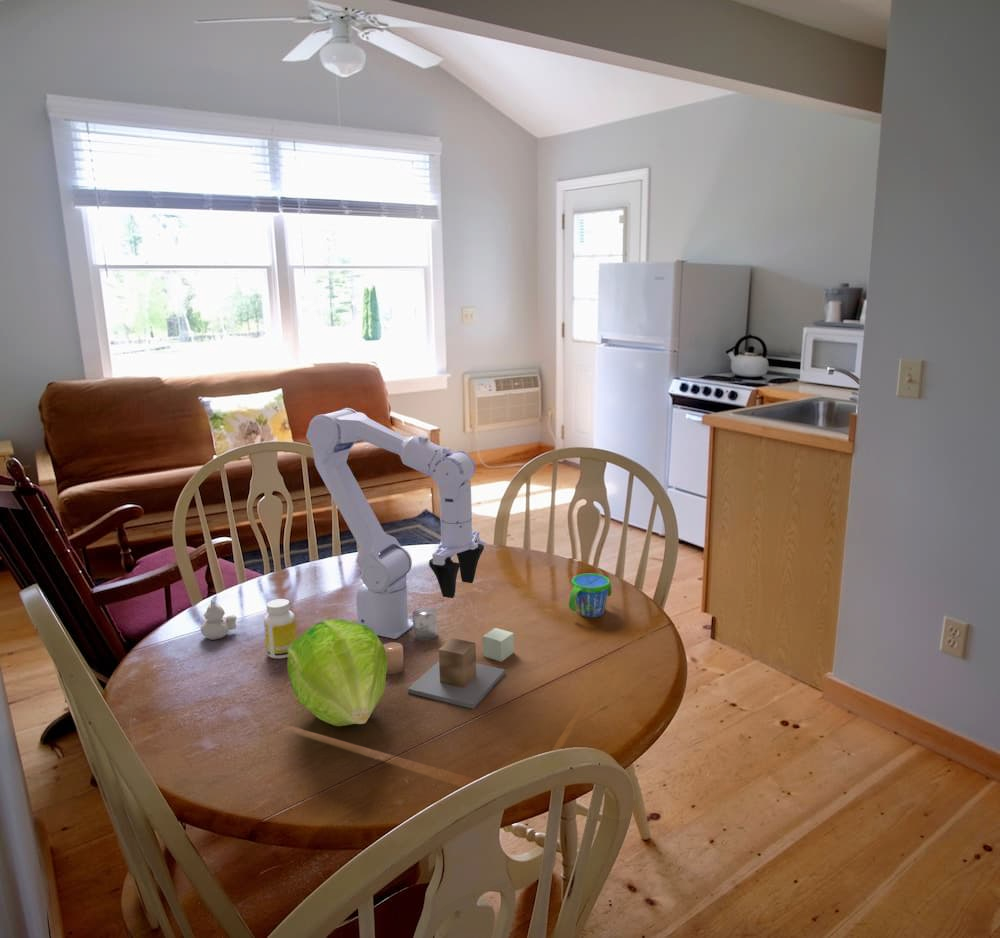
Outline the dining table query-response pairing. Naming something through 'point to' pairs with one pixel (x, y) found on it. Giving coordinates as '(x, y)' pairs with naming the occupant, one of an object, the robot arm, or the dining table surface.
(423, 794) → the dining table surface
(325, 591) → the dining table surface
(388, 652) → the peach rounded cylinder
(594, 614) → the snack cup
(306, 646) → the lettuce
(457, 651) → the walnut block
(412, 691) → the slate coaster
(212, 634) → the grey rounded figure
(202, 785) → the dining table surface
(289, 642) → the supplement bottle
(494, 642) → the pale green block
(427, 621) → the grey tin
